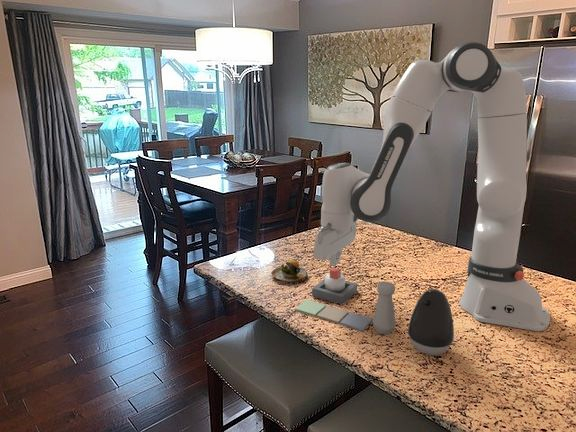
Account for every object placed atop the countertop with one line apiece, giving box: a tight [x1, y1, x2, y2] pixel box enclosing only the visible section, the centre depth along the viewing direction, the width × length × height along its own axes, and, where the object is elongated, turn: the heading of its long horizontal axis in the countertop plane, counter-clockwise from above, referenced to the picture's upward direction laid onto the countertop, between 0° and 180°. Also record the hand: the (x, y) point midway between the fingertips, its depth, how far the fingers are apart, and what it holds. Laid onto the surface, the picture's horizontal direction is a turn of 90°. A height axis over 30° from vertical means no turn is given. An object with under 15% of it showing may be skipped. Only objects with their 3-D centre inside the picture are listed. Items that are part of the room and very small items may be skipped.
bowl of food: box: [271, 255, 309, 285], centre depth 142 cm, size 12×12×8 cm
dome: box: [324, 267, 346, 293], centre depth 130 cm, size 6×6×6 cm
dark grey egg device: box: [407, 288, 455, 356], centre depth 101 cm, size 10×10×15 cm
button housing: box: [311, 278, 358, 305], centre depth 131 cm, size 10×10×2 cm
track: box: [294, 298, 373, 332], centre depth 118 cm, size 20×6×1 cm, turn 57°
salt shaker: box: [371, 281, 397, 336], centre depth 109 cm, size 6×6×13 cm
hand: (334, 264), depth 128 cm, fingers closed
